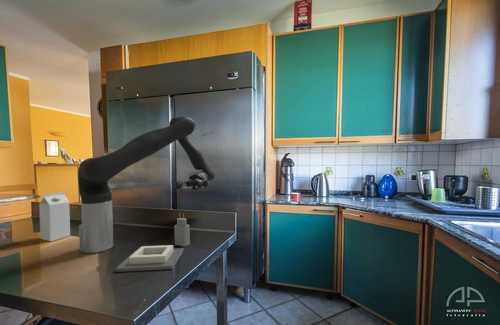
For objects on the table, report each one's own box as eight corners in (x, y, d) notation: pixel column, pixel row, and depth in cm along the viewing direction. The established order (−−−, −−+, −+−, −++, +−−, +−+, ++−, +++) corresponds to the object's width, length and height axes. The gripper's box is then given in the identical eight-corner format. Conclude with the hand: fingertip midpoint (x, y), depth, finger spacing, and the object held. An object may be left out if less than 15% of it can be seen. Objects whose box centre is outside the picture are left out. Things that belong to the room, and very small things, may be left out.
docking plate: (115, 271, 63) (115, 261, 63) (136, 252, 76) (136, 244, 76) (172, 269, 64) (172, 258, 64) (183, 250, 77) (183, 242, 77)
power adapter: (179, 241, 86) (179, 211, 86) (190, 243, 84) (189, 212, 84) (173, 244, 83) (173, 212, 83) (184, 246, 81) (184, 214, 81)
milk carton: (40, 239, 92) (38, 194, 91) (60, 234, 98) (59, 191, 98) (50, 242, 89) (48, 194, 89) (70, 236, 95) (69, 192, 95)
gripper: (182, 173, 109) (170, 178, 93) (211, 172, 109) (204, 177, 93) (183, 188, 110) (171, 196, 94) (212, 187, 109) (205, 194, 93)
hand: (188, 186), depth 93 cm, fingers open, 8 cm apart
